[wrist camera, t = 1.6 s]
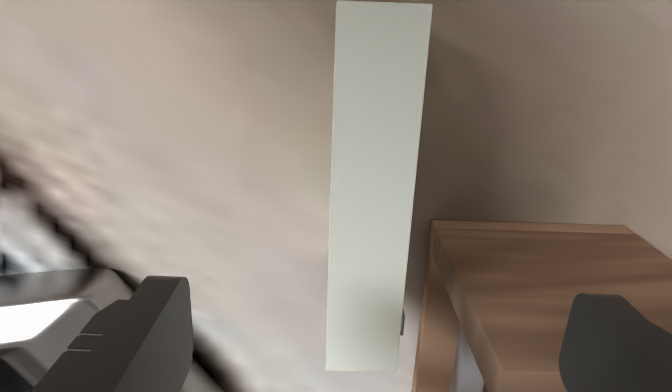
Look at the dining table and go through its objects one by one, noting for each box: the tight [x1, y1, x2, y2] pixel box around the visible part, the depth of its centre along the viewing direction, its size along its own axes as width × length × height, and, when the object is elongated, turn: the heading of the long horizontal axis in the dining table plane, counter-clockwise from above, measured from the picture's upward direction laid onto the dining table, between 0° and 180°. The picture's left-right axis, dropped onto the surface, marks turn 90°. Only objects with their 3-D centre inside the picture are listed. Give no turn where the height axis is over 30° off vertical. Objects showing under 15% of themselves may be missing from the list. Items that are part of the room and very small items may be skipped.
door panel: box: [325, 0, 433, 372], centre depth 19 cm, size 12×3×9 cm, turn 178°
